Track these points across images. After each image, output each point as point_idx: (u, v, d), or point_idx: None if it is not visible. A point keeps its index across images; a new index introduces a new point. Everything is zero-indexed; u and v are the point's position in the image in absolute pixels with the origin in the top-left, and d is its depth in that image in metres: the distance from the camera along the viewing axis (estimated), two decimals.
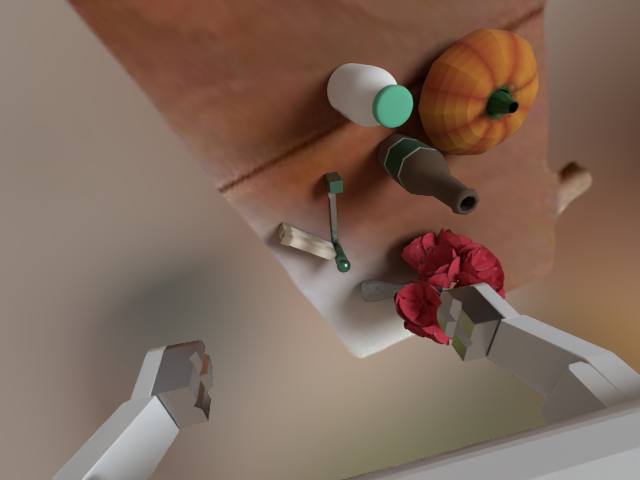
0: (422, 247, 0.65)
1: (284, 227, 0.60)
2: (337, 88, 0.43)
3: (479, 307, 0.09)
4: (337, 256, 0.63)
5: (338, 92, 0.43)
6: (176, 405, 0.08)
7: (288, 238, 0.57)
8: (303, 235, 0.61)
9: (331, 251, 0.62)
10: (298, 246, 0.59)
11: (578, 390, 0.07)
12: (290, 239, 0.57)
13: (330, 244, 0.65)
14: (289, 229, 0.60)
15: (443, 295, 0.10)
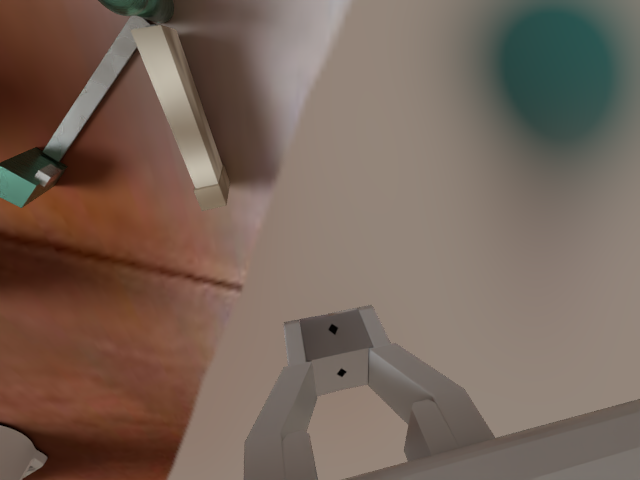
0: None
1: None
2: None
3: (353, 334, 0.09)
4: (135, 15, 0.18)
5: None
6: (323, 372, 0.08)
7: (202, 200, 0.24)
8: None
9: None
10: (203, 160, 0.23)
11: (418, 432, 0.06)
12: (200, 194, 0.23)
13: None
14: None
15: None
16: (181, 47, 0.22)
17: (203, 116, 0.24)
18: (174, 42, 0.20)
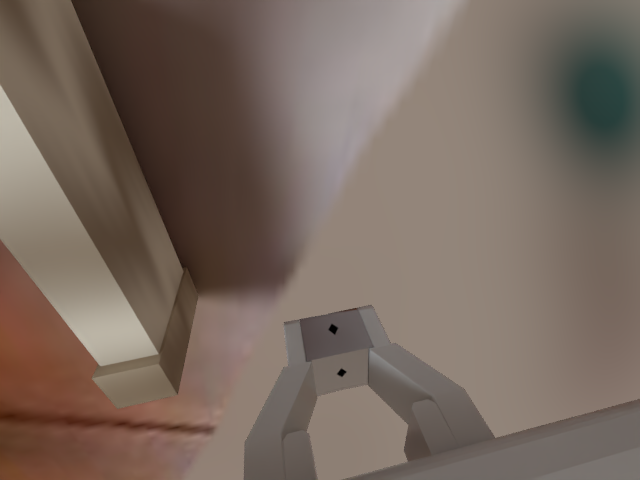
0: None
1: None
2: None
3: (353, 334, 0.09)
4: None
5: None
6: (323, 372, 0.08)
7: (116, 391, 0.10)
8: None
9: None
10: (117, 314, 0.09)
11: (418, 432, 0.06)
12: (111, 382, 0.09)
13: None
14: None
15: None
16: (73, 18, 0.08)
17: (135, 187, 0.10)
18: None
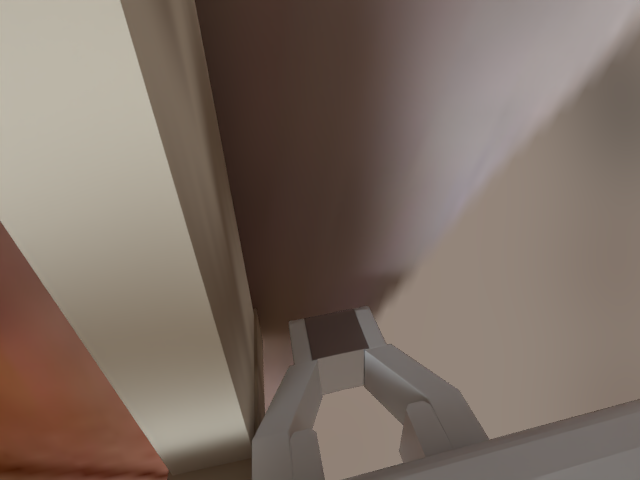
0: None
1: None
2: None
3: (349, 335, 0.09)
4: None
5: None
6: (328, 371, 0.08)
7: None
8: None
9: None
10: (217, 416, 0.06)
11: (412, 433, 0.06)
12: None
13: None
14: None
15: None
16: None
17: (229, 215, 0.07)
18: None
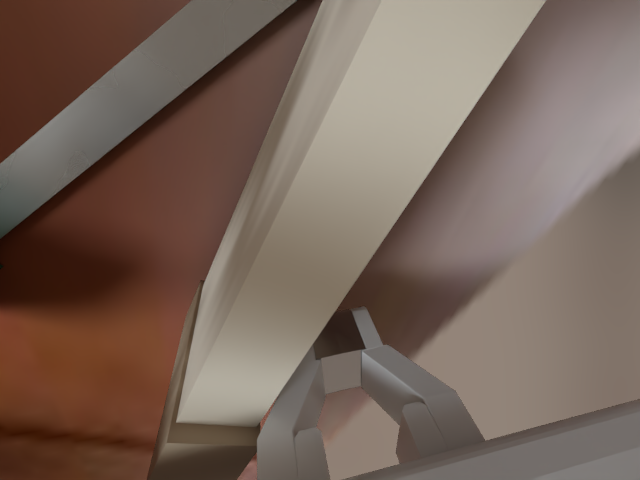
0: None
1: (177, 356, 0.09)
2: None
3: (346, 335, 0.09)
4: None
5: None
6: (332, 370, 0.08)
7: (172, 465, 0.06)
8: (228, 249, 0.08)
9: None
10: (272, 371, 0.06)
11: (408, 434, 0.06)
12: (182, 453, 0.06)
13: None
14: (187, 332, 0.09)
15: None
16: None
17: None
18: None
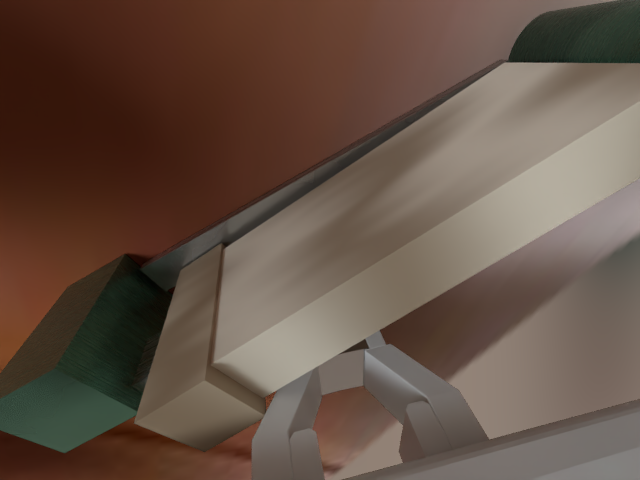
0: None
1: (175, 305, 0.09)
2: None
3: None
4: None
5: None
6: (328, 371, 0.08)
7: (182, 408, 0.06)
8: (300, 229, 0.08)
9: (605, 100, 0.06)
10: (323, 348, 0.07)
11: (412, 433, 0.06)
12: (203, 397, 0.06)
13: (510, 76, 0.08)
14: (203, 286, 0.09)
15: None
16: None
17: None
18: None
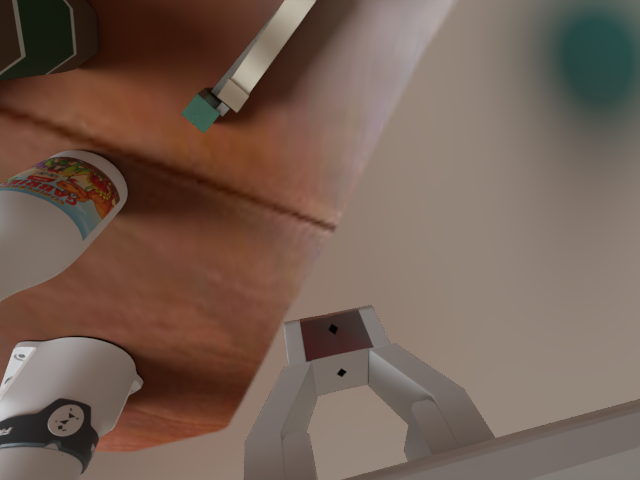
0: None
1: None
2: None
3: (353, 334, 0.09)
4: None
5: None
6: (323, 372, 0.08)
7: (226, 90, 0.25)
8: None
9: None
10: (257, 71, 0.25)
11: (418, 432, 0.06)
12: (230, 86, 0.25)
13: None
14: None
15: None
16: None
17: None
18: None
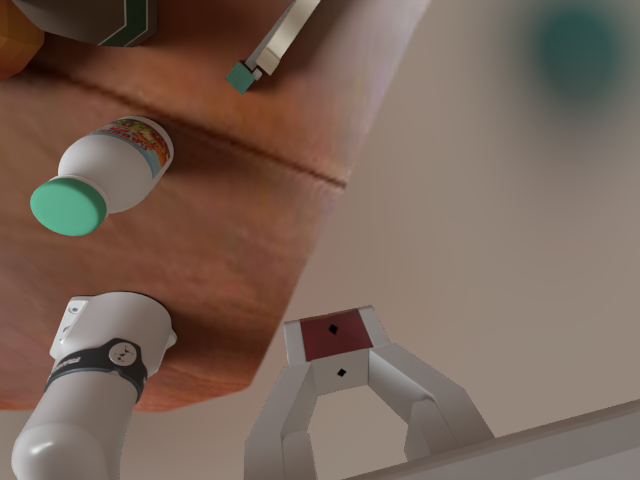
0: None
1: (256, 59, 0.35)
2: None
3: (353, 334, 0.09)
4: None
5: None
6: (323, 372, 0.08)
7: (262, 57, 0.32)
8: (279, 26, 0.33)
9: None
10: (286, 41, 0.32)
11: (418, 431, 0.06)
12: (266, 53, 0.32)
13: None
14: (261, 51, 0.34)
15: None
16: None
17: None
18: None
